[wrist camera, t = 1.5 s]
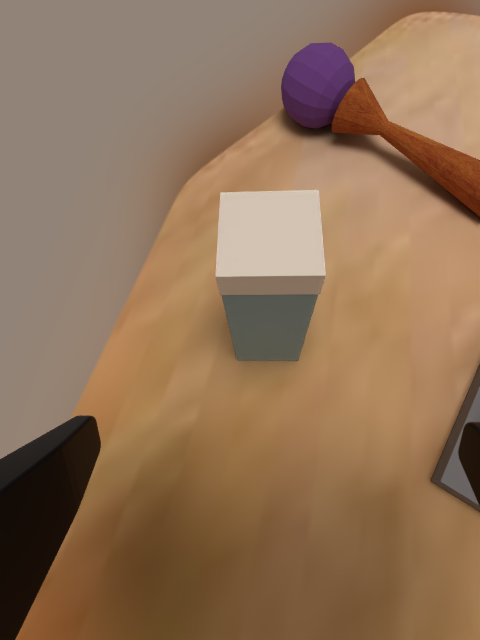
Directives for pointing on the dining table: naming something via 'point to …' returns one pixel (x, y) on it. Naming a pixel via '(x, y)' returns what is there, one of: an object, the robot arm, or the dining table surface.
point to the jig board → (449, 467)
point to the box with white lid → (269, 270)
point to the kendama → (368, 117)
